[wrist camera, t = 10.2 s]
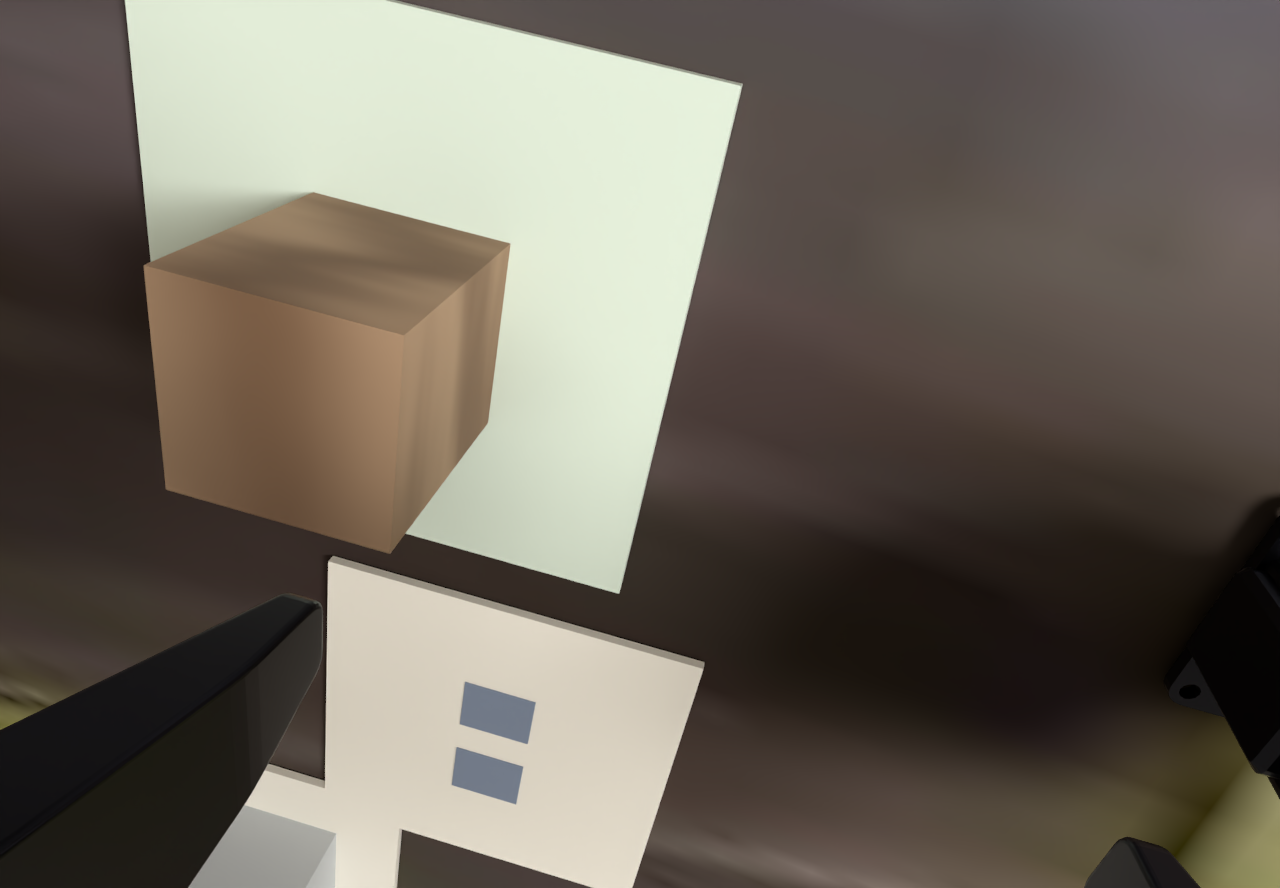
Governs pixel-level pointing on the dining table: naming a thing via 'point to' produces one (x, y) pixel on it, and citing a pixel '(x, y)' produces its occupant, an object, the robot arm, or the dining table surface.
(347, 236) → the walnut block
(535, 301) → the sage pad
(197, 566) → the dining table surface
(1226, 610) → the robot arm
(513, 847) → the tile
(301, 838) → the grey block
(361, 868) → the tile
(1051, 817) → the dining table surface
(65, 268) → the dining table surface
